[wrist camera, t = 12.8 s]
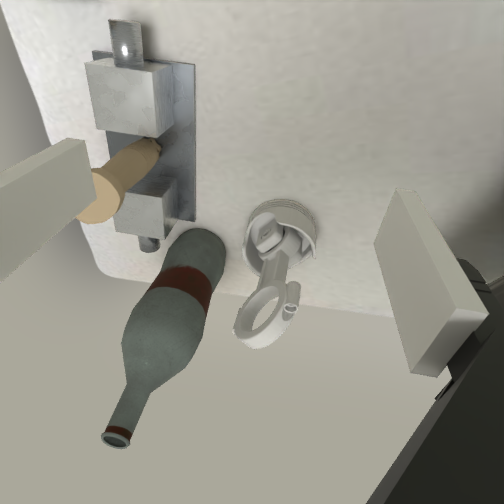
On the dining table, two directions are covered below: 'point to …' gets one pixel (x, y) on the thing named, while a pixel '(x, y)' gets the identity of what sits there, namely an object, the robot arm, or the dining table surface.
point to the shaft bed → (147, 130)
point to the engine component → (274, 267)
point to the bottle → (166, 326)
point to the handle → (119, 179)
